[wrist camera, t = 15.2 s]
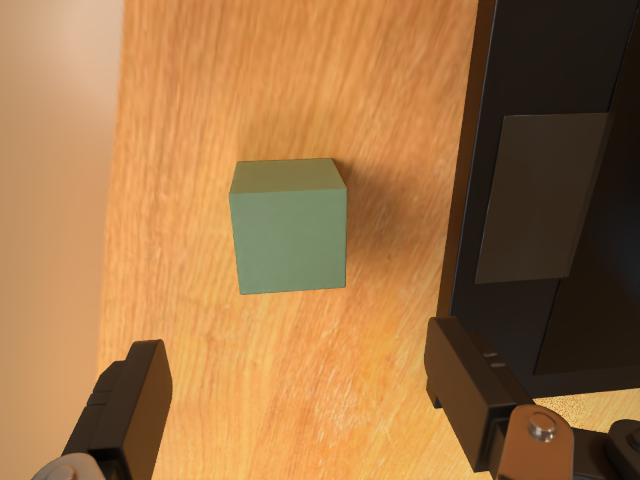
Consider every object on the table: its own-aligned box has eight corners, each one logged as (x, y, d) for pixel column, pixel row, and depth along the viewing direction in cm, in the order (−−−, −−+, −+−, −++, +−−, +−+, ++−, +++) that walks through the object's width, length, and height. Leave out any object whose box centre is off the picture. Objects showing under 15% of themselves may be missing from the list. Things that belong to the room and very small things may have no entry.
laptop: (425, 389, 31) (434, 410, 29) (497, -143, 17) (522, -162, 16) (686, 364, 33) (709, 382, 31) (928, -131, 19) (991, -147, 18)
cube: (245, 247, 24) (240, 295, 19) (236, 161, 22) (228, 194, 17) (331, 241, 24) (345, 288, 20) (331, 157, 22) (347, 188, 18)
